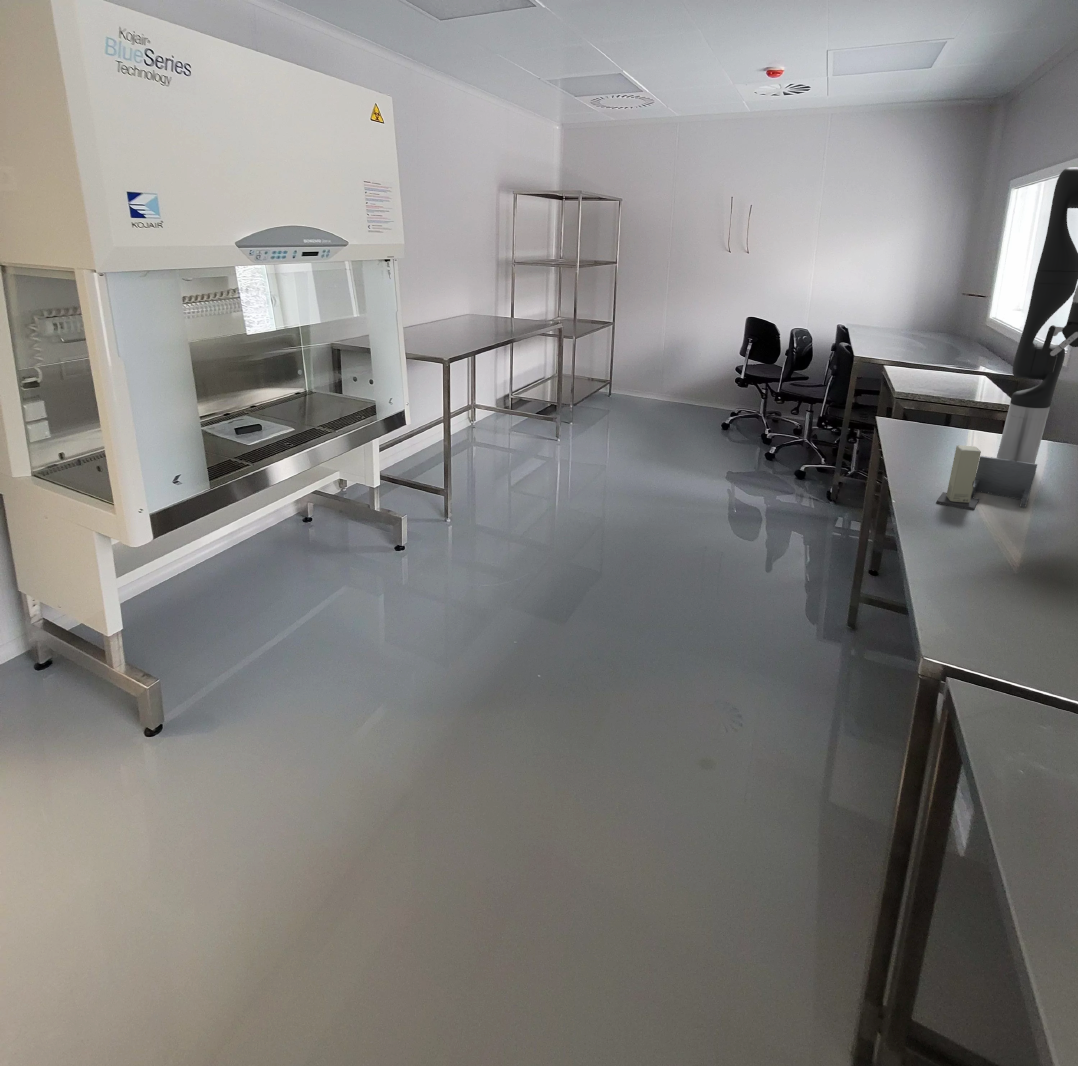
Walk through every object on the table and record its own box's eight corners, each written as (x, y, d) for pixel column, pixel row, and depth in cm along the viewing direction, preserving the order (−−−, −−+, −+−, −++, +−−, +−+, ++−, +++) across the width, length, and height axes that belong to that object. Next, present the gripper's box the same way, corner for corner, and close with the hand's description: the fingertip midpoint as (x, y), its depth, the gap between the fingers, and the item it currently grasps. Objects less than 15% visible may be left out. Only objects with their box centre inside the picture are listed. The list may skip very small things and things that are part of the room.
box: (970, 503, 175) (982, 451, 170) (949, 502, 176) (961, 450, 171) (964, 496, 180) (976, 445, 175) (944, 495, 181) (956, 444, 176)
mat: (942, 494, 183) (942, 492, 183) (978, 500, 179) (979, 498, 178) (936, 503, 177) (936, 500, 177) (973, 510, 173) (974, 507, 172)
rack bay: (972, 489, 186) (980, 455, 183) (1028, 499, 180) (1037, 464, 176) (967, 497, 181) (976, 462, 177) (1024, 507, 174) (1034, 471, 171)
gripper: (1132, 301, 163) (1111, 374, 169) (1056, 298, 171) (1038, 368, 177) (1132, 303, 158) (1110, 379, 164) (1053, 300, 165) (1035, 372, 172)
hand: (1072, 373), depth 170 cm, fingers open, 8 cm apart
